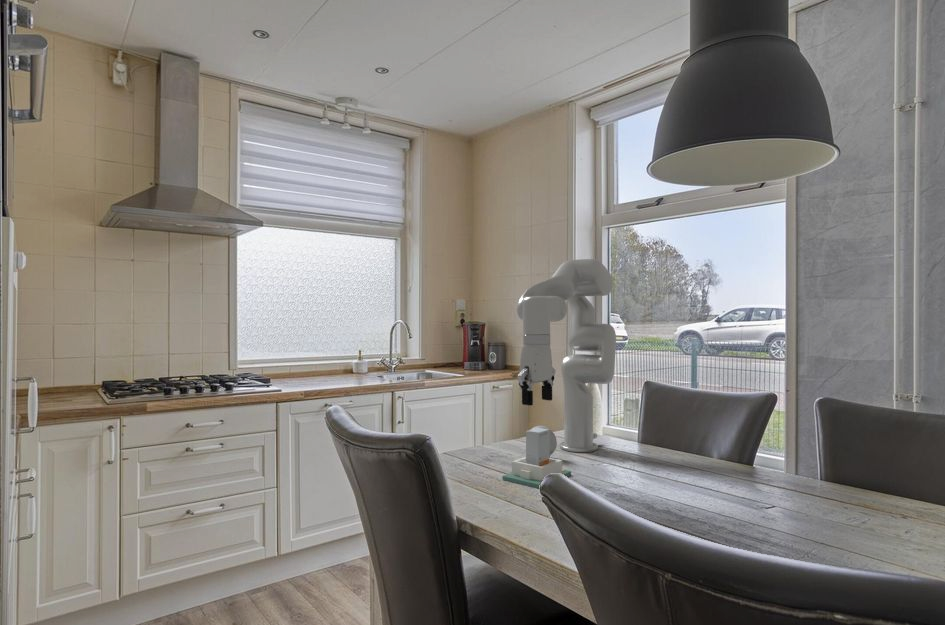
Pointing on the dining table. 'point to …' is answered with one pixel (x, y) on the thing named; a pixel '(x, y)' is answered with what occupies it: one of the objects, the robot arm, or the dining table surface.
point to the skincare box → (537, 446)
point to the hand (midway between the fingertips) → (537, 402)
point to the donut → (552, 440)
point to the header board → (533, 472)
